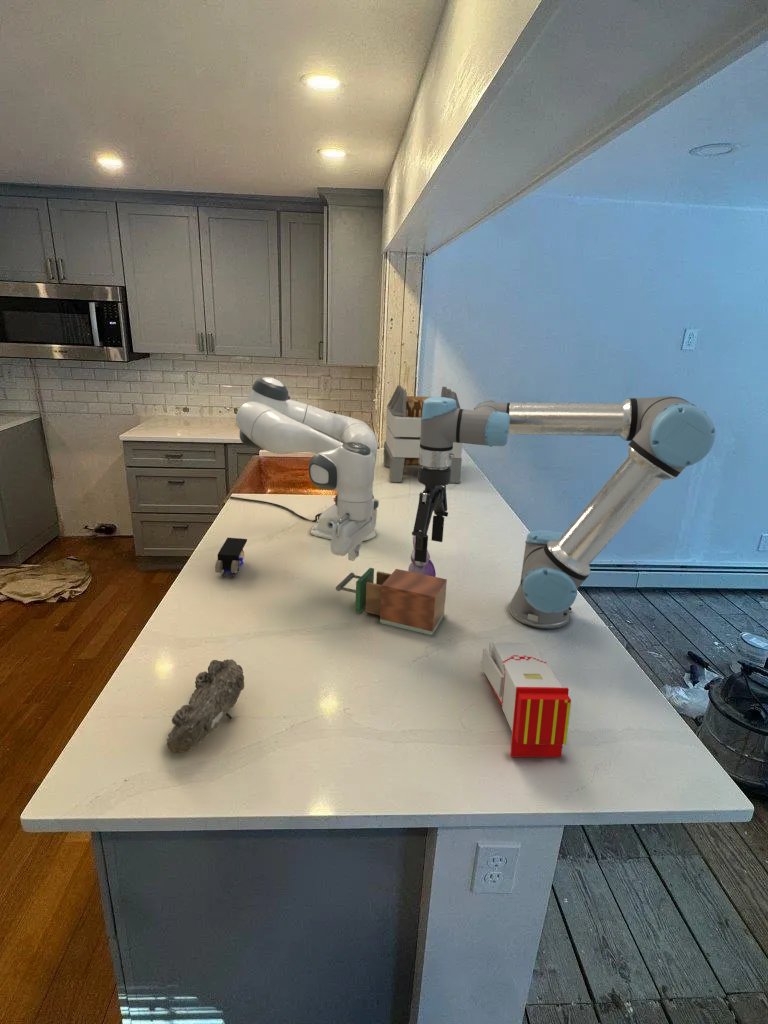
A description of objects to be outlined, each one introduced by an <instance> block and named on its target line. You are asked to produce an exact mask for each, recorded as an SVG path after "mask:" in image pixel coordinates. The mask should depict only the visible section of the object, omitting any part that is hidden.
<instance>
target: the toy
mask: <svg viewBox="0 0 768 1024" xmlns="http://www.w3.org/2000/svg"><path fill="white" fill-rule="evenodd" d="M480 668H481V669H482V671H483V673H484V674H485V677H486V678H487V681H488V682H489V685H490V687H491V689H492V690H493V692H494V694H495V696H496V698H497V701H498V703H499V704H500V707H502V708H501V709H502V710H503V714H504V715H505V718H506V720H507V723H508V725H509V728H510V730H511V740H510V741H511V742H510V751H509V752H510V754H509V756H510V757H511V758H562V754H563V745H567V741H568V740H567V739H568V731H569V721H570V714H571V713H570V712H571V705H572V704H571V703H572V699H571V697H570V696H569V691H570V688H569V687H563V686H562V684H561V682H560V681H559V680H558V678H557V676H556V675H555V673H554V671H553V670H552V669H551V667H550V666H549V664H548V663H547V661H546V660H545V658H544V657H543V655H542V653H541V651H540V649H539V648H538V647H537V646H536V644H535V643H534V642H506V641H505V642H504V641H503V642H502V641H496V642H495V641H493V642H492V643H489V644H488V649H487V648H482V656H481V663H480Z"/></svg>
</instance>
